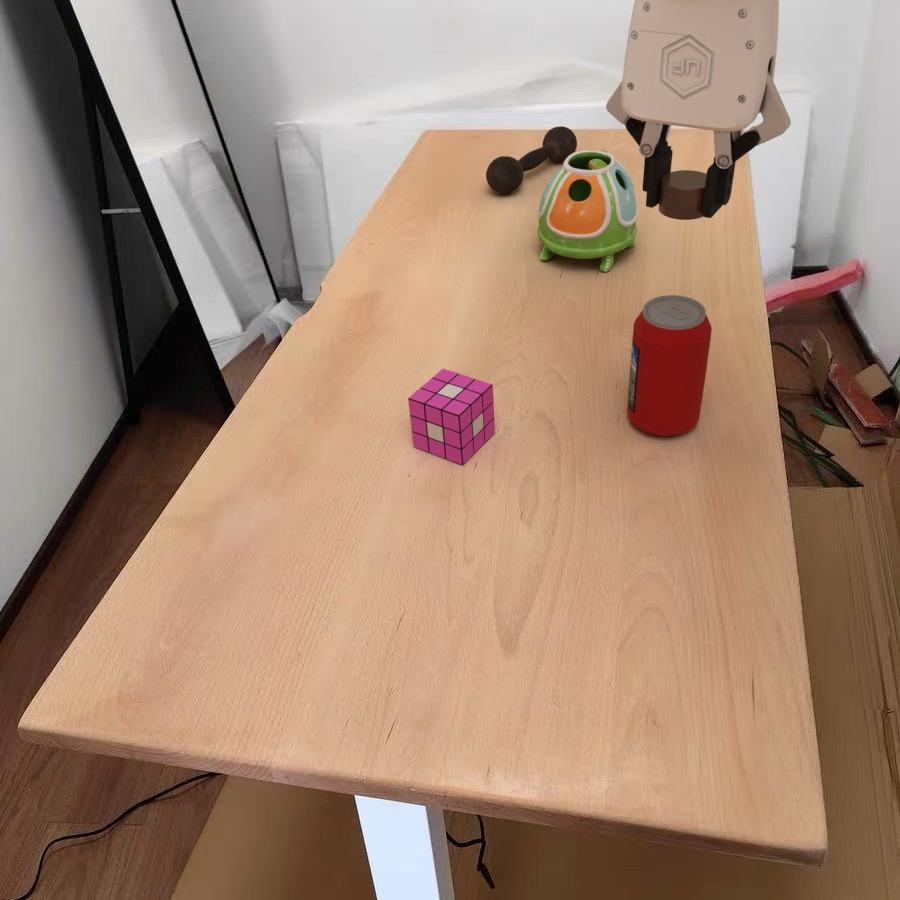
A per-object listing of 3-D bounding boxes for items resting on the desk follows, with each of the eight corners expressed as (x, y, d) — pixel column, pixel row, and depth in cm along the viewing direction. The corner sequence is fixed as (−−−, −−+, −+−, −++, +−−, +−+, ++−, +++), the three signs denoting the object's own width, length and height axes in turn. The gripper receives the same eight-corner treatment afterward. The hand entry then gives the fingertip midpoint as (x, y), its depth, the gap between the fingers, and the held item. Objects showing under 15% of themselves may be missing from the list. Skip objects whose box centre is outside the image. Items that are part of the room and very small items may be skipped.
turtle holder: (650, 219, 118) (657, 130, 111) (622, 279, 105) (628, 184, 98) (562, 211, 122) (563, 125, 114) (524, 269, 109) (523, 176, 101)
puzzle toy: (412, 447, 82) (407, 398, 78) (446, 415, 86) (442, 367, 82) (462, 465, 79) (459, 416, 76) (495, 433, 83) (493, 383, 79)
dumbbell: (555, 154, 140) (553, 120, 137) (584, 158, 137) (582, 123, 134) (480, 197, 128) (476, 161, 125) (510, 201, 125) (506, 164, 122)
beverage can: (653, 391, 86) (663, 284, 79) (712, 417, 82) (729, 306, 75) (612, 422, 83) (618, 312, 75) (672, 451, 79) (685, 338, 71)
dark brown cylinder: (716, 204, 70) (721, 174, 68) (698, 223, 67) (702, 192, 66) (669, 196, 72) (672, 166, 70) (650, 214, 69) (653, 184, 68)
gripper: (574, -48, 59) (569, 206, 71) (827, -39, 52) (775, 245, 63) (620, -68, 64) (608, 174, 76) (858, -61, 56) (804, 206, 68)
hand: (684, 203), depth 69 cm, fingers closed on dark brown cylinder, 4 cm apart
